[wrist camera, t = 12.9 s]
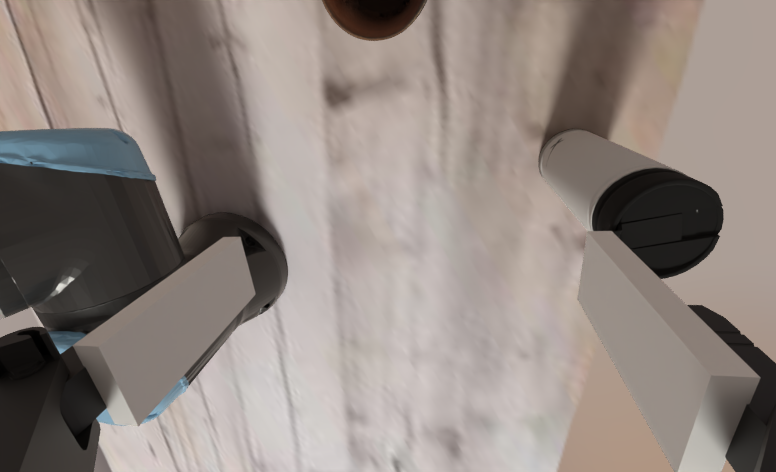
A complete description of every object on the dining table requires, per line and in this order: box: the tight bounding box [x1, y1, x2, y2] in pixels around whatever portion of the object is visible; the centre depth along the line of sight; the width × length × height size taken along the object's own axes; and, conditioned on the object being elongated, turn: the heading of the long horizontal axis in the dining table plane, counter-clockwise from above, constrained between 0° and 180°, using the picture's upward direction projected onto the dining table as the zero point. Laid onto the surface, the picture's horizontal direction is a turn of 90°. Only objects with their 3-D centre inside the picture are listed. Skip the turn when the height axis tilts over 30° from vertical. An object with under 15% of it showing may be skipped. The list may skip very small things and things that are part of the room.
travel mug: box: [539, 129, 723, 279], centre depth 29 cm, size 6×7×20 cm
